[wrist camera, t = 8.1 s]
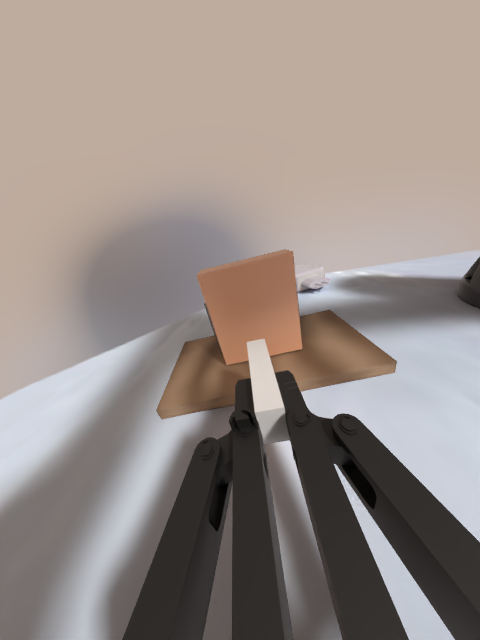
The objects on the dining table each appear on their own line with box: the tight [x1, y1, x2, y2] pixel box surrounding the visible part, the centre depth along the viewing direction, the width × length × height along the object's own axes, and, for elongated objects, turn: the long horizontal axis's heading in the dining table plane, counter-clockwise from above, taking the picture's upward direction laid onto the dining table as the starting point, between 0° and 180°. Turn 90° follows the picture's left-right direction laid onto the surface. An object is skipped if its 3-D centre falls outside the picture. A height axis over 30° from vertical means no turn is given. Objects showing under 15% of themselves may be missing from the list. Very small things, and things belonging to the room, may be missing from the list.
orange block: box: [197, 250, 302, 365], centre depth 25 cm, size 10×9×12 cm
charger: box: [294, 264, 330, 292], centre depth 47 cm, size 5×9×15 cm
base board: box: [156, 310, 397, 419], centre depth 26 cm, size 26×14×2 cm, turn 93°
